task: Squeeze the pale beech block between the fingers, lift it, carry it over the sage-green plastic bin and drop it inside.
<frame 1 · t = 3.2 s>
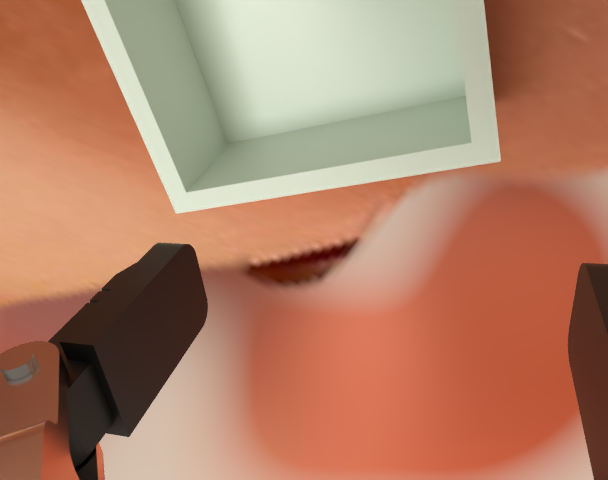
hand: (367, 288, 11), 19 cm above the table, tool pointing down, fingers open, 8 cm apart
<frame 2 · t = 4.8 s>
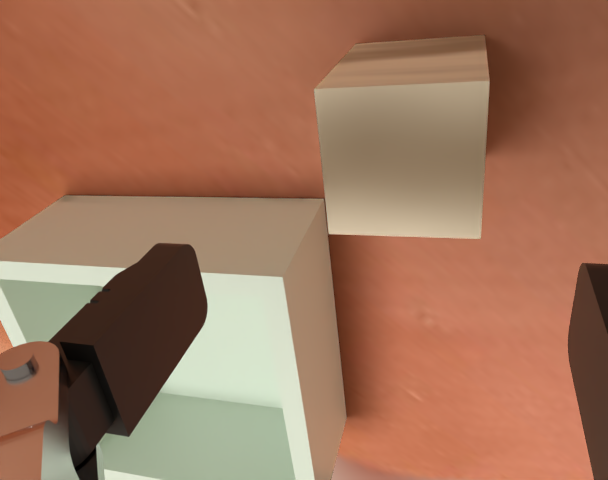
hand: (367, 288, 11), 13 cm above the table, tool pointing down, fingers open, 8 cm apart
bin: (212, 311, 32), on the table
block: (418, 101, 22), on the table
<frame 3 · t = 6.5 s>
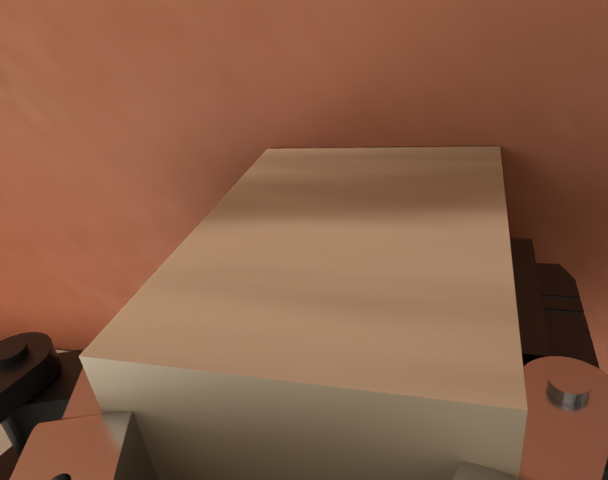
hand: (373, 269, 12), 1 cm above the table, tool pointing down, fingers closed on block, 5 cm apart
block: (380, 247, 13), on the table, touching gripper
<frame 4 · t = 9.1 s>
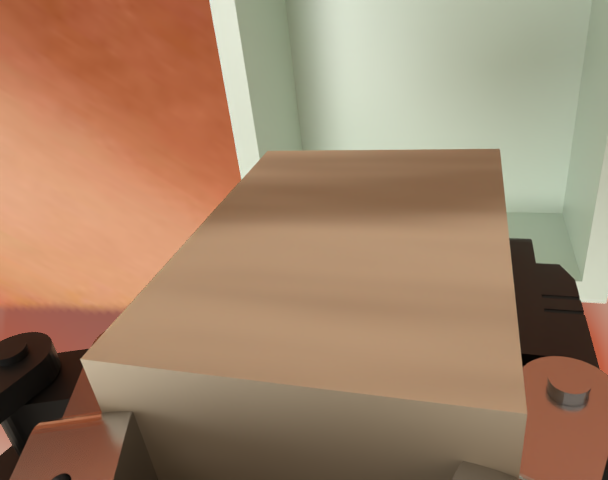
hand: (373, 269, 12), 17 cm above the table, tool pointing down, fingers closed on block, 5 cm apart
bin: (429, 82, 26), on the table
block: (381, 249, 13), point 16 cm above the table, touching gripper
when the fingers open (4 cm above the table, at t = 11.7 s): block drops 3 cm, resting on bin.
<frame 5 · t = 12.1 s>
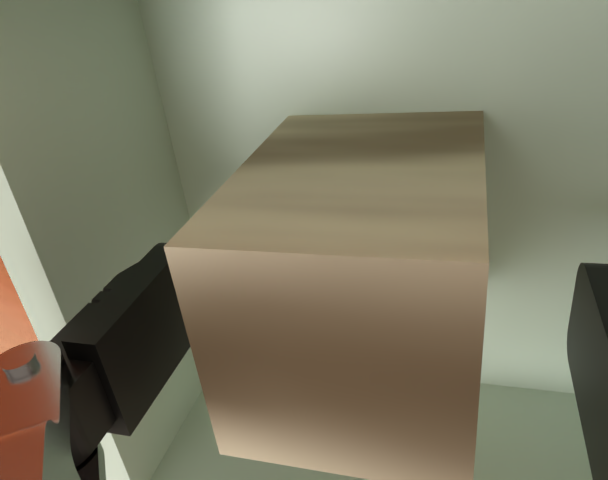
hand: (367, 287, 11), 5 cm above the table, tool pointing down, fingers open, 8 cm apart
bin: (397, 188, 16), on the table
block: (384, 201, 15), point 1 cm above the table, touching bin
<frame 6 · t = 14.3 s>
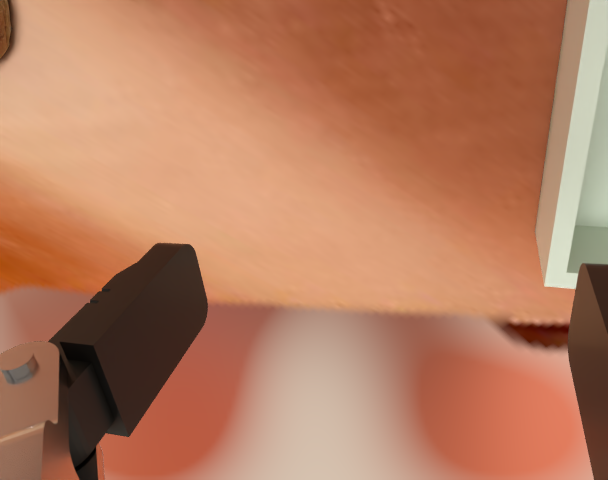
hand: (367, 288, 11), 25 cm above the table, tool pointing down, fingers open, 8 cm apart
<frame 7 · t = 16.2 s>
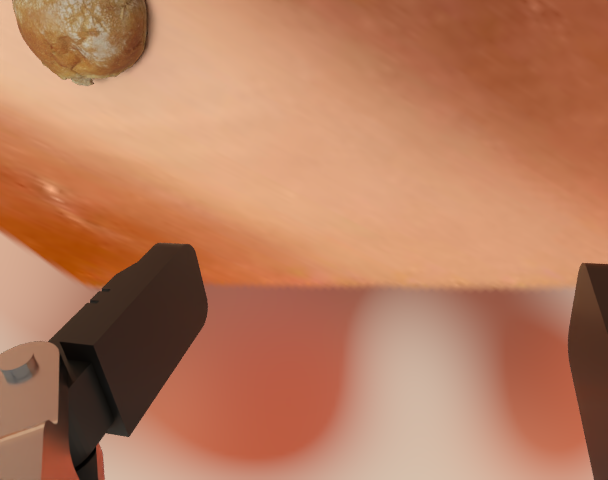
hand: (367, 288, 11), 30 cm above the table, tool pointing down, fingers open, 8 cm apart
bread roll: (96, 12, 42), on the table
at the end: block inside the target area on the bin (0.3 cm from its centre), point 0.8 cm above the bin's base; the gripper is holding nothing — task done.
